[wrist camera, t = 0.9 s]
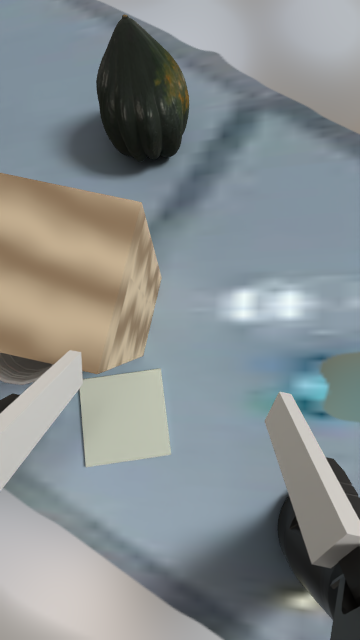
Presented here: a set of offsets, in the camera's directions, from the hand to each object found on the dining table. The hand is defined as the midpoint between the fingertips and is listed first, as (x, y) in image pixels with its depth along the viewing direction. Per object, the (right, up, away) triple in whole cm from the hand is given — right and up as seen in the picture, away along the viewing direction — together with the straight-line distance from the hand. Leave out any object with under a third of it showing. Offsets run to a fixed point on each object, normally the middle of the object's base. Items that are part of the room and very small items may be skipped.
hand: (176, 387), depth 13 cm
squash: (-6, +40, +27) cm, 48 cm away
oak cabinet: (-17, +8, +23) cm, 30 cm away
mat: (-9, -12, +21) cm, 26 cm away
